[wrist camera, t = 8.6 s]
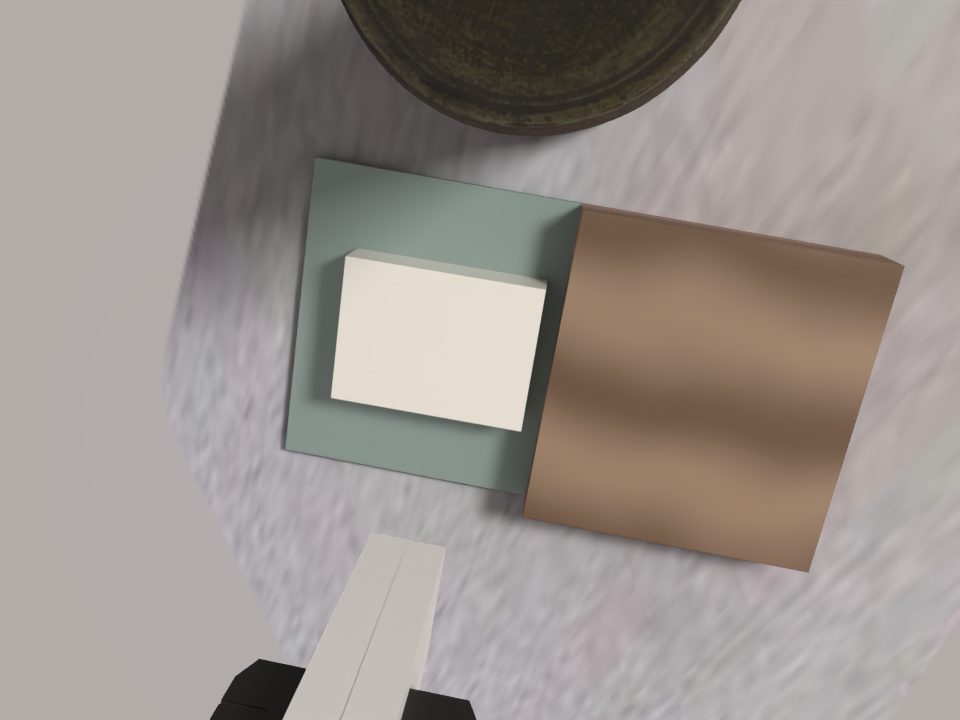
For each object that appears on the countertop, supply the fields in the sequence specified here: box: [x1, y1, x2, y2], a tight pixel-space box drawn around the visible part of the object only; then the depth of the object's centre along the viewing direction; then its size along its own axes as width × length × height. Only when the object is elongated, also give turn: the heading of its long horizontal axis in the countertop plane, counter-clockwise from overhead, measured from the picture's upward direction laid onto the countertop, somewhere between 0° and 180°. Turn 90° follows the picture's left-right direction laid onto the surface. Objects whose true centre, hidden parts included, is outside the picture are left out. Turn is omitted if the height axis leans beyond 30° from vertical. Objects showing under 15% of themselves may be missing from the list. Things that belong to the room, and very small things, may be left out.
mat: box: [285, 157, 582, 495], centre depth 36 cm, size 13×11×1 cm
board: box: [523, 203, 904, 572], centre depth 35 cm, size 13×12×2 cm
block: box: [331, 248, 547, 432], centre depth 35 cm, size 6×8×2 cm
